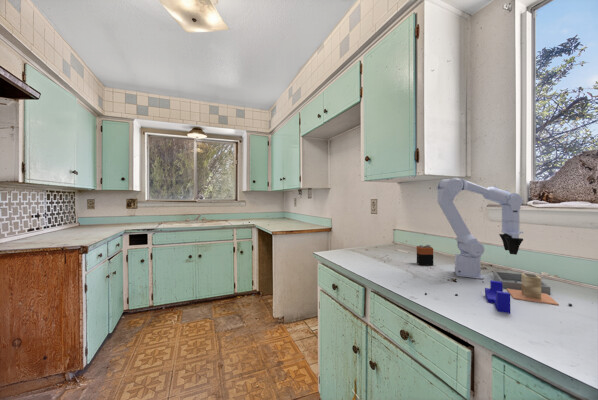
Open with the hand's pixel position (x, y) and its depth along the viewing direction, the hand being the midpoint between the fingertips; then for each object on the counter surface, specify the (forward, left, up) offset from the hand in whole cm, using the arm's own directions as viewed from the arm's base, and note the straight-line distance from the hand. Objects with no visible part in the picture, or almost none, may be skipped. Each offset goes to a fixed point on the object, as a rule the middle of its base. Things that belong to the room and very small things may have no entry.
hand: (510, 252), depth 104 cm
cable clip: (-11, -35, -11) cm, 38 cm away
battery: (-33, +4, -11) cm, 35 cm away
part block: (0, -24, -10) cm, 26 cm away
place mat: (0, -24, -10) cm, 26 cm away
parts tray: (0, -11, -10) cm, 15 cm away
